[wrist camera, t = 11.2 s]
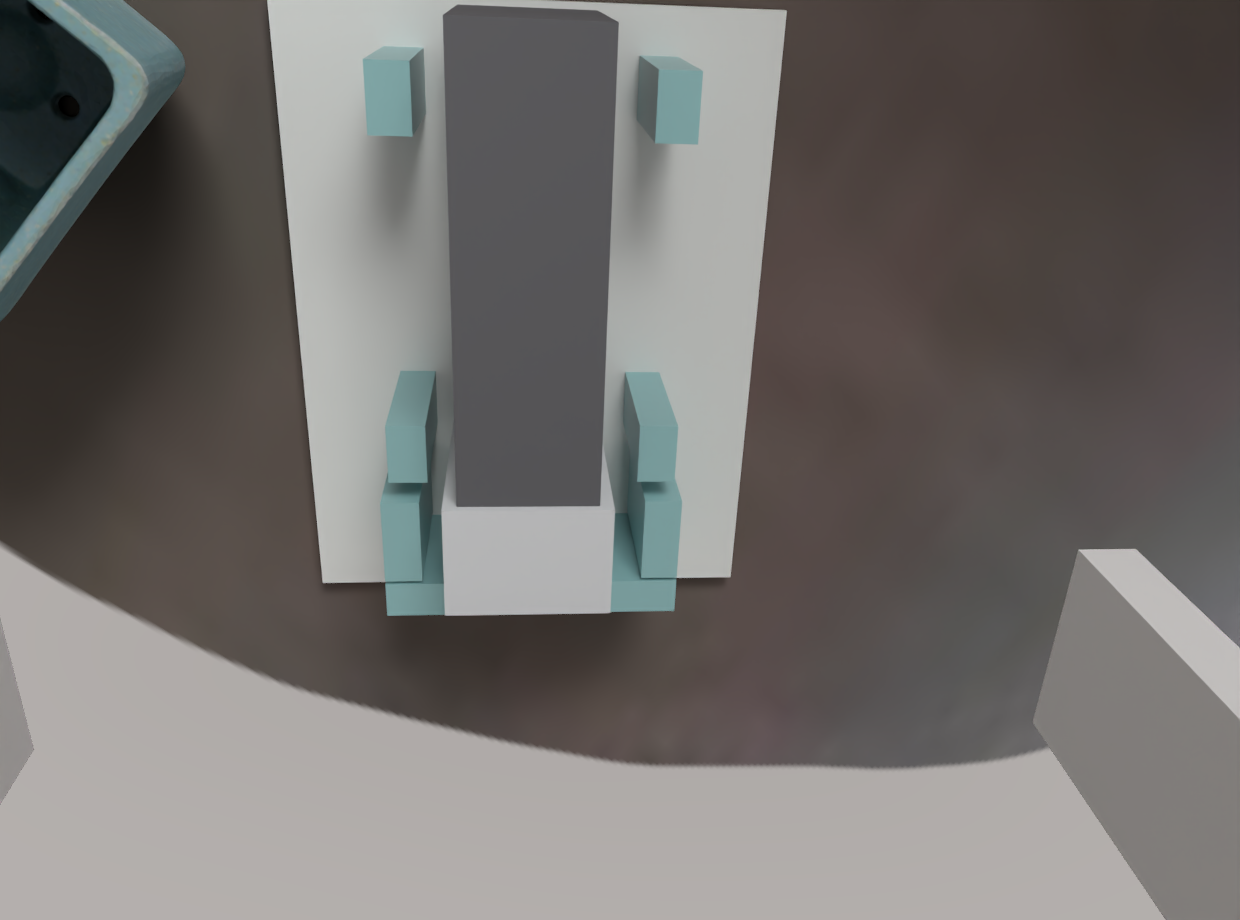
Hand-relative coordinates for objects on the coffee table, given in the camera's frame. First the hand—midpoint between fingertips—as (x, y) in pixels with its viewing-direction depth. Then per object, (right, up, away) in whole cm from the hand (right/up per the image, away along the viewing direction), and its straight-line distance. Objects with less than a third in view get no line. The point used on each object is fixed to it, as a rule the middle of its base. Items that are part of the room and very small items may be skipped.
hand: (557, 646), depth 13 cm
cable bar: (-2, +7, +16) cm, 18 cm away
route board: (-2, +6, +17) cm, 18 cm away
